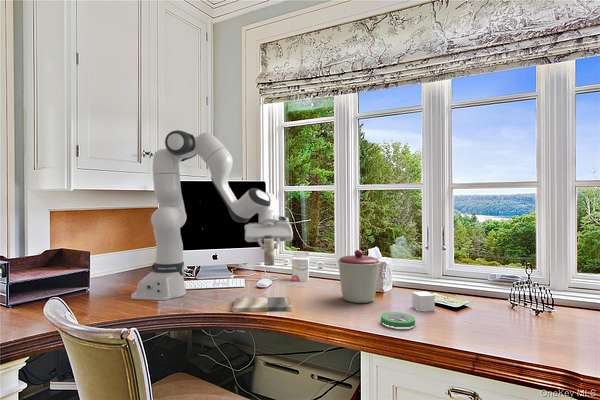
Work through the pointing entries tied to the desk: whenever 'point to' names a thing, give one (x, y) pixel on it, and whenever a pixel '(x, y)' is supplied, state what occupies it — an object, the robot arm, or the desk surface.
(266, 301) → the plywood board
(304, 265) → the ink cartridge box
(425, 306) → the adhesive note
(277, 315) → the desk surface
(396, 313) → the tape roll
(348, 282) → the canister
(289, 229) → the robot arm
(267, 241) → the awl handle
